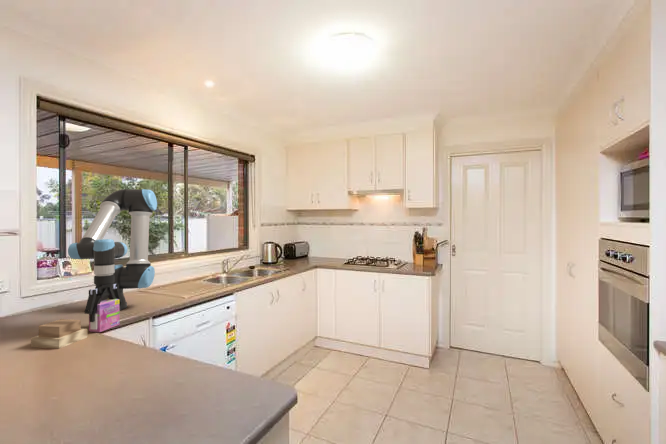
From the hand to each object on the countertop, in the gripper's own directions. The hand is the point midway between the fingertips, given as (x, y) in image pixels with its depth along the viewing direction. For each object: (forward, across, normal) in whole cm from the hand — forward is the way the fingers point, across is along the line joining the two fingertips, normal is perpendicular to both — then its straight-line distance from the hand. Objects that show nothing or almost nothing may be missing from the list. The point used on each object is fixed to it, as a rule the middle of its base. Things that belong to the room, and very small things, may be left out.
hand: (104, 324), depth 147 cm
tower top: (-2, +17, -4) cm, 18 cm away
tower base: (+2, +17, -4) cm, 18 cm away
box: (+2, 0, 0) cm, 2 cm away
